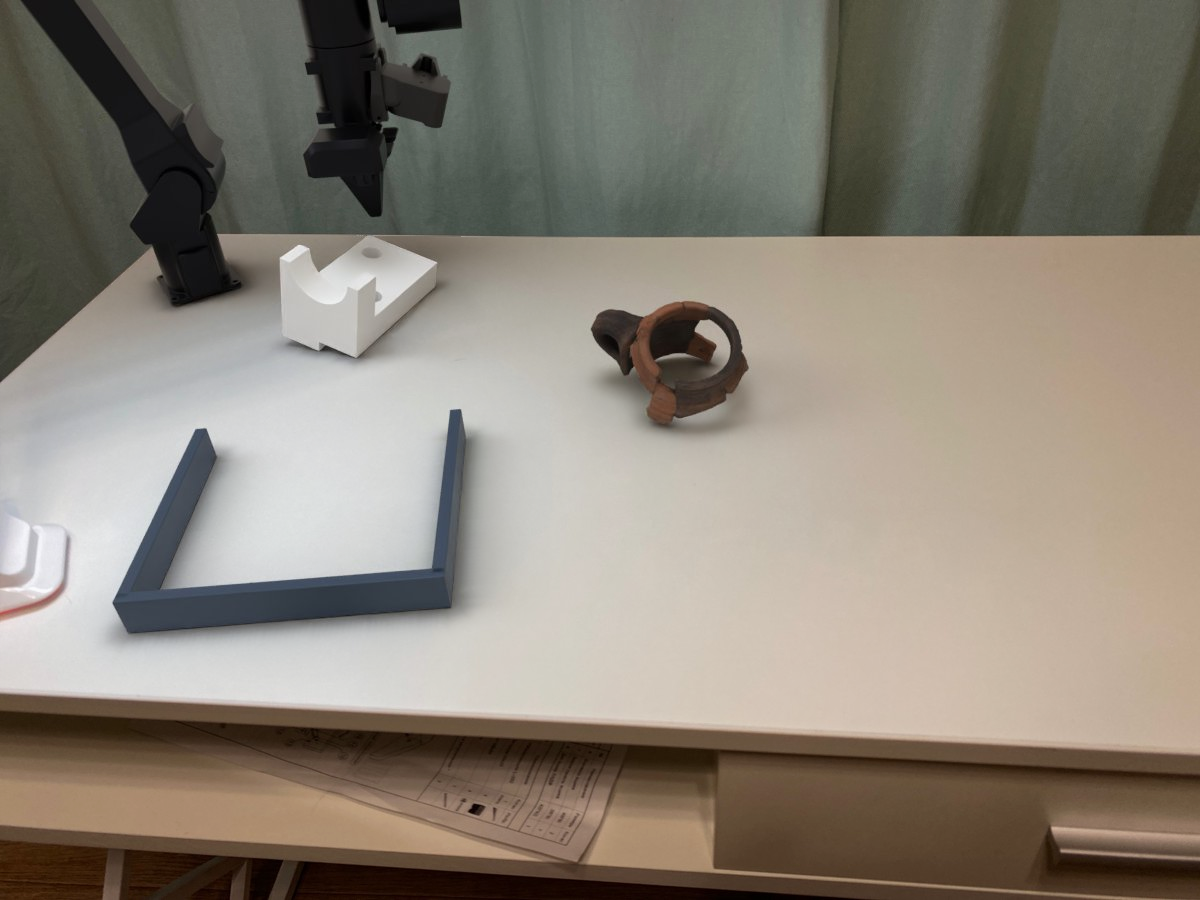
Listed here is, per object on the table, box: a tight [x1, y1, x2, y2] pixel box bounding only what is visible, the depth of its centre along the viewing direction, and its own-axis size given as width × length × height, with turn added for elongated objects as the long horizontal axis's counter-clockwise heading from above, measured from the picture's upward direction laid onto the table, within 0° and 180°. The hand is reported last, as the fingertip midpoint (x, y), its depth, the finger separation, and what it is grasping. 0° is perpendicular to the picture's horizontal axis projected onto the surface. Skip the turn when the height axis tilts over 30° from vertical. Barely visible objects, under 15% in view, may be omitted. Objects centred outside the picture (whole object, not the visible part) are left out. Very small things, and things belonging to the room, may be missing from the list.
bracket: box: [279, 234, 438, 359], centre depth 81 cm, size 13×7×8 cm, turn 158°
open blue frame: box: [111, 408, 467, 634], centre depth 60 cm, size 17×19×2 cm
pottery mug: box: [590, 300, 750, 426], centre depth 70 cm, size 12×10×8 cm
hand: (376, 215), depth 89 cm, fingers closed
